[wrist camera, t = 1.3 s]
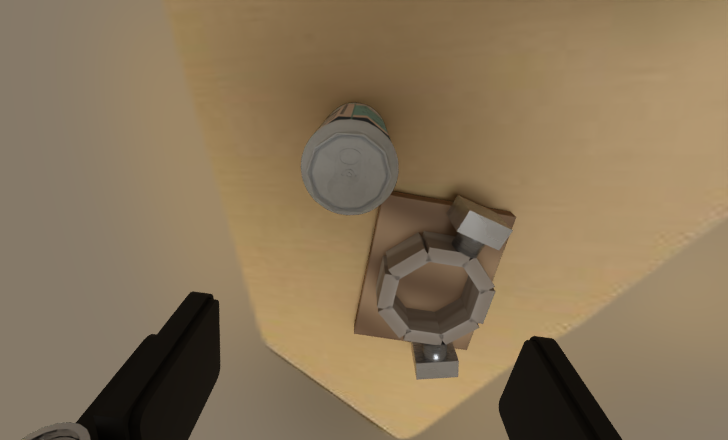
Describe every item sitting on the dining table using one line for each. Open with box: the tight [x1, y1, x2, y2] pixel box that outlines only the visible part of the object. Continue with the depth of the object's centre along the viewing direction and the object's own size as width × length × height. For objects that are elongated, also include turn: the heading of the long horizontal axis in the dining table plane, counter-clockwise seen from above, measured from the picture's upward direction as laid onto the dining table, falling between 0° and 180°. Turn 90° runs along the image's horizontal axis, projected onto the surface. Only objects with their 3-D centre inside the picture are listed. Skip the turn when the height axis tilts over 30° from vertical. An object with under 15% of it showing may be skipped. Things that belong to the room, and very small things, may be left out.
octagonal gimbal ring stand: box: [354, 191, 516, 350], centre depth 30 cm, size 14×11×4 cm
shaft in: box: [447, 195, 513, 258], centre depth 27 cm, size 3×4×4 cm
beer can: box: [301, 103, 399, 215], centre depth 22 cm, size 5×5×12 cm
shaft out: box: [411, 341, 459, 379], centre depth 32 cm, size 3×4×4 cm
